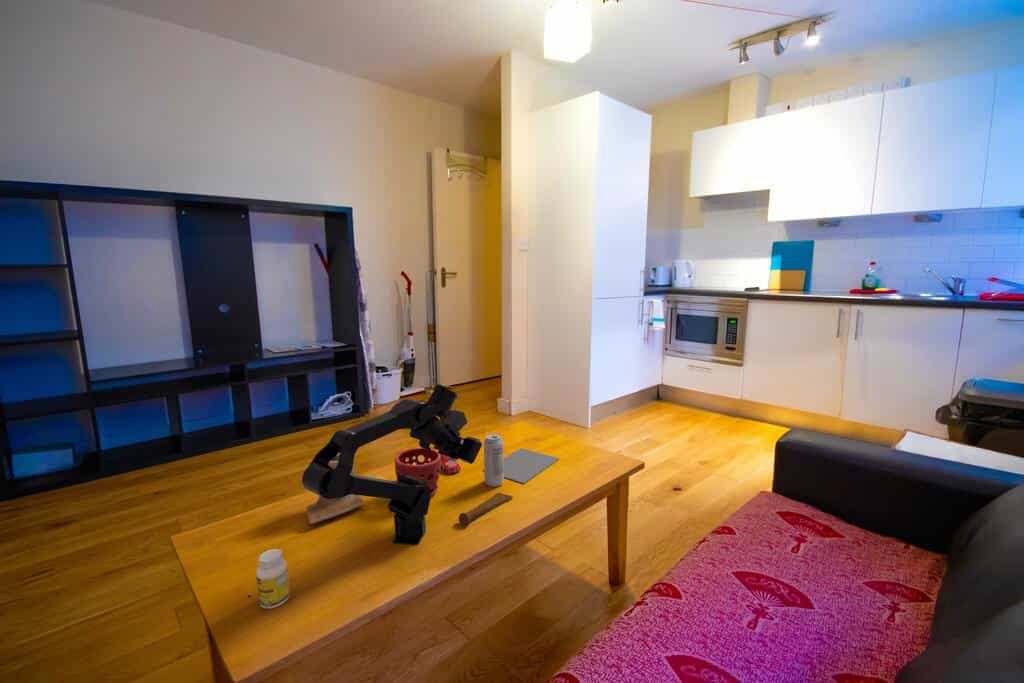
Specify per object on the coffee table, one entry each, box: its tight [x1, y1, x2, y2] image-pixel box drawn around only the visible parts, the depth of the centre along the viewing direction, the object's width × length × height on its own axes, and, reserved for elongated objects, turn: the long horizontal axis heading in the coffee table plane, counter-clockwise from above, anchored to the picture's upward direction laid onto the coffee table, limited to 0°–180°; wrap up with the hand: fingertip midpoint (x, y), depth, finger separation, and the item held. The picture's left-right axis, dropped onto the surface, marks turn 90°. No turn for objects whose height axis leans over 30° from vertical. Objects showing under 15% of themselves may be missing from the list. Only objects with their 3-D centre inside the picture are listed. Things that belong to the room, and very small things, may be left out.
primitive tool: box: [458, 492, 514, 527], centre depth 121 cm, size 19×6×4 cm, turn 147°
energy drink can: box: [483, 433, 505, 488], centre depth 135 cm, size 6×6×15 cm
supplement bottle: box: [255, 548, 291, 609], centre depth 87 cm, size 5×5×10 cm
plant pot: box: [394, 447, 442, 498], centre depth 129 cm, size 13×13×12 cm
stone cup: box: [305, 453, 364, 525], centre depth 120 cm, size 15×12×15 cm
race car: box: [440, 454, 462, 475], centre depth 148 cm, size 13×5×4 cm, turn 25°
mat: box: [482, 447, 560, 485], centre depth 149 cm, size 22×16×1 cm
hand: (464, 457), depth 123 cm, fingers closed
